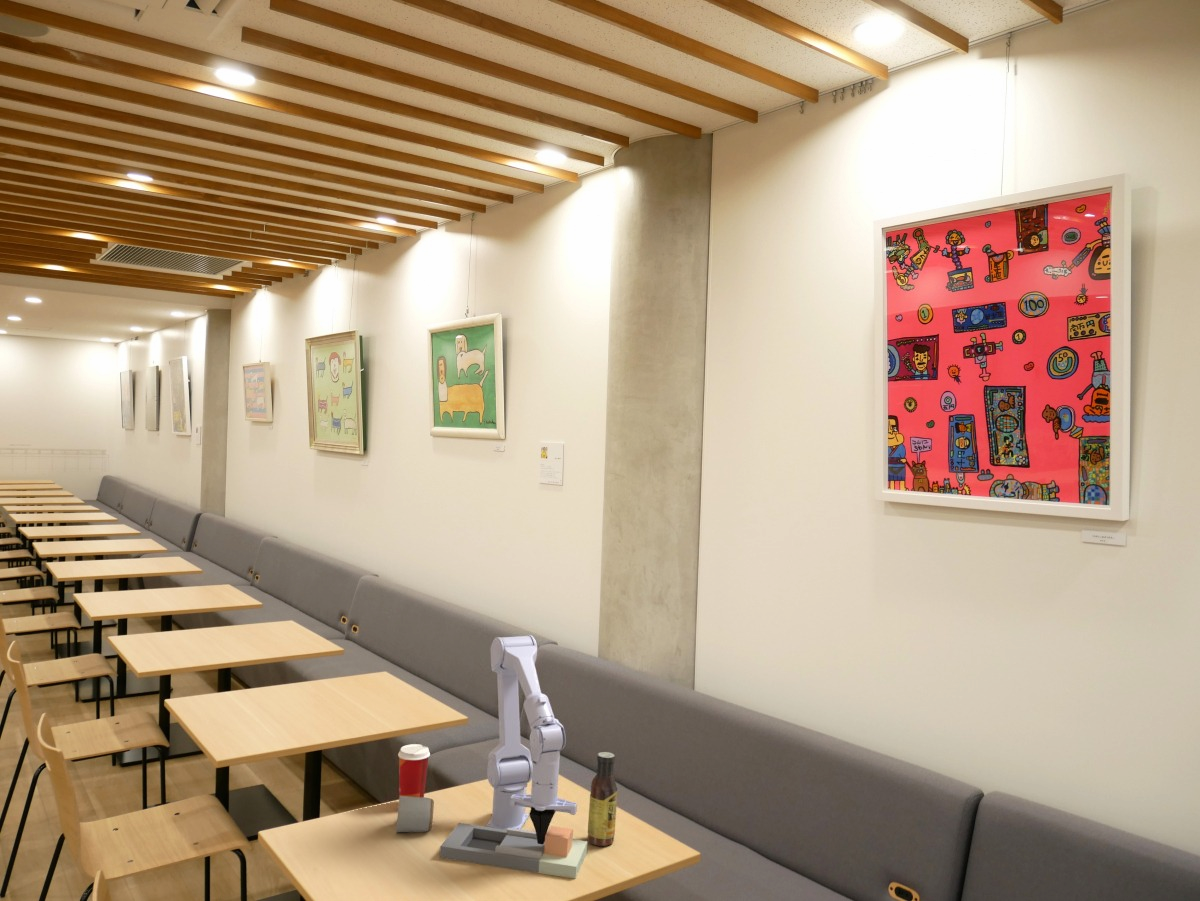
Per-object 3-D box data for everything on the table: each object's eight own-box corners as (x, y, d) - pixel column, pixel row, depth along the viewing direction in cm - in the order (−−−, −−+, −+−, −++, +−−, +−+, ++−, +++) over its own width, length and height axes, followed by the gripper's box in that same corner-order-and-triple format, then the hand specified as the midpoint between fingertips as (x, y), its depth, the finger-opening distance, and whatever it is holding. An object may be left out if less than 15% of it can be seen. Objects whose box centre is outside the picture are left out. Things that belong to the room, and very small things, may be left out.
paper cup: (413, 796, 218) (416, 741, 218) (433, 806, 213) (436, 749, 213) (388, 805, 212) (391, 748, 212) (407, 815, 207) (411, 757, 207)
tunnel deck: (458, 833, 199) (459, 818, 199) (586, 852, 194) (587, 836, 194) (439, 857, 187) (440, 841, 187) (575, 878, 182) (576, 861, 182)
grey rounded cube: (432, 836, 197) (434, 802, 197) (395, 838, 195) (397, 803, 195) (431, 817, 207) (433, 785, 207) (396, 818, 206) (398, 785, 206)
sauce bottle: (611, 849, 196) (616, 761, 196) (584, 845, 197) (589, 758, 197) (616, 836, 202) (621, 752, 202) (590, 832, 204) (595, 748, 204)
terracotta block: (549, 843, 192) (551, 825, 192) (572, 846, 191) (573, 828, 191) (544, 853, 187) (545, 835, 187) (566, 857, 186) (567, 838, 186)
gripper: (507, 782, 187) (504, 845, 187) (573, 791, 184) (569, 855, 184) (516, 770, 194) (513, 831, 194) (580, 779, 191) (576, 840, 191)
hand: (541, 842), depth 190 cm, fingers closed
